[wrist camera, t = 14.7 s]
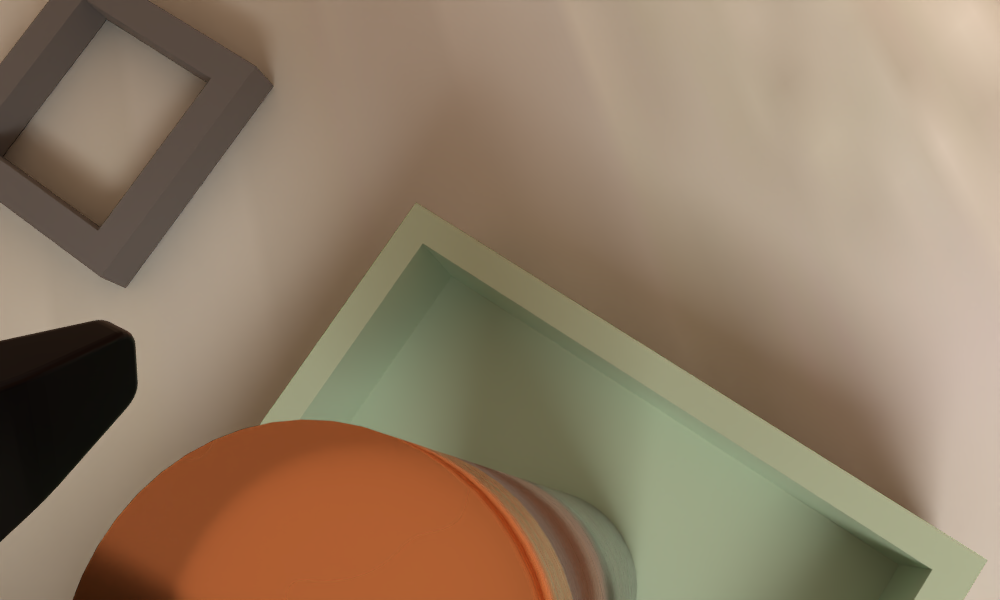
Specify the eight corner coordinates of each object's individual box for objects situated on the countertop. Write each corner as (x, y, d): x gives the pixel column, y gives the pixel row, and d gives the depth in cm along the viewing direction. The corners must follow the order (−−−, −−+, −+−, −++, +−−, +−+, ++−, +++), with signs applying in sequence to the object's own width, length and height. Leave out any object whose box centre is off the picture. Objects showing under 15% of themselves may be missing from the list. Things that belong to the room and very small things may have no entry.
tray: (667, 1000, 17) (664, 1095, 14) (203, 605, 20) (124, 617, 17) (938, 556, 18) (987, 560, 15) (451, 247, 21) (415, 202, 18)
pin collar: (125, 288, 22) (100, 276, 21) (-38, 166, 24) (-68, 151, 23) (273, 85, 23) (255, 66, 22) (104, -19, 25) (81, -41, 24)
